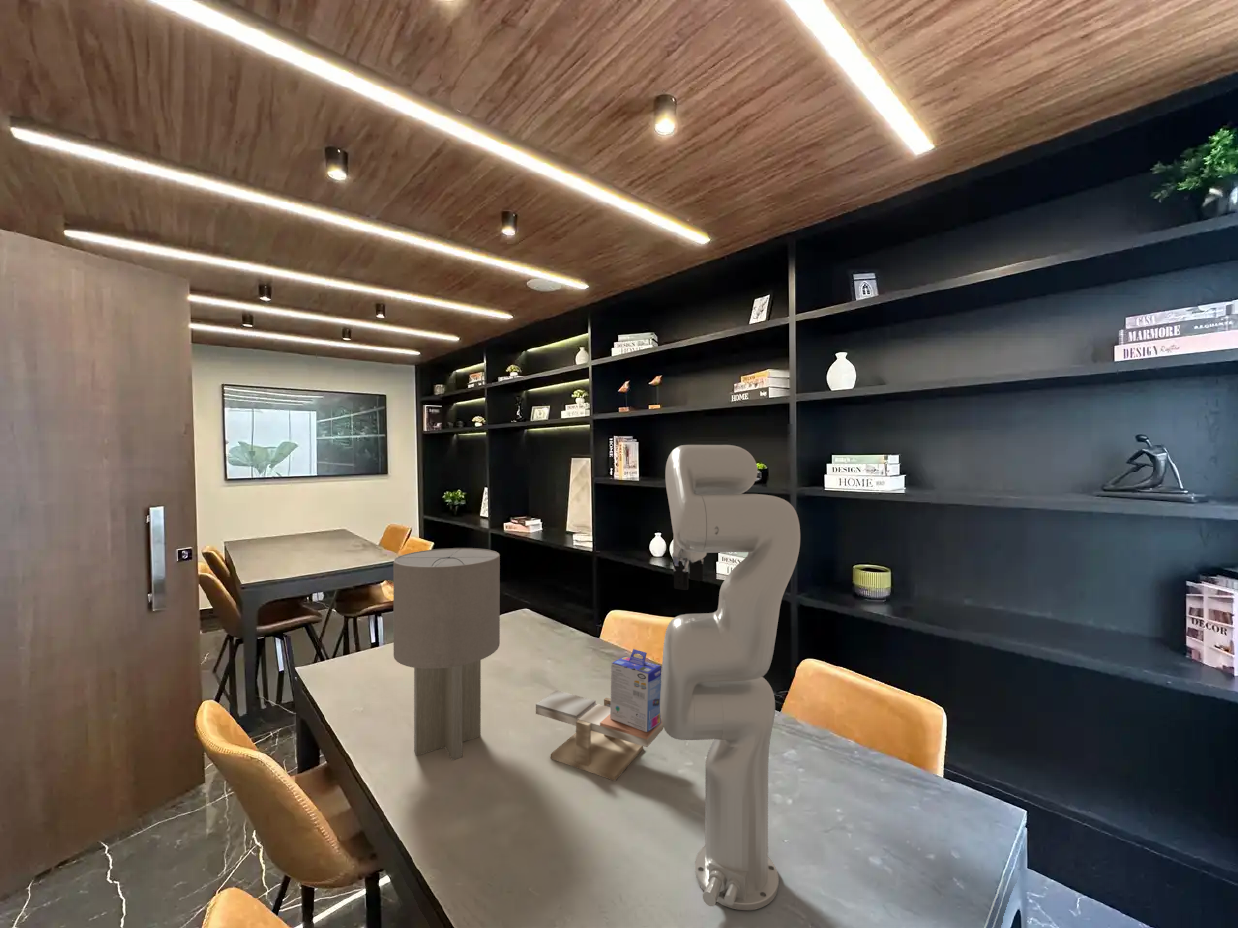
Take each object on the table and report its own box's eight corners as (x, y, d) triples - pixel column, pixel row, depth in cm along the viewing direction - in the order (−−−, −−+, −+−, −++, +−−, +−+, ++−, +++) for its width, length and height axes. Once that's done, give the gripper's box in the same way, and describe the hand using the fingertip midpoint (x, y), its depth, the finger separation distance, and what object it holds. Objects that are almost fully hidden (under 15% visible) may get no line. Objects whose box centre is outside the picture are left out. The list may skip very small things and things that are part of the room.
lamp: (404, 787, 100) (404, 571, 100) (385, 735, 119) (385, 553, 119) (514, 751, 113) (514, 559, 112) (481, 709, 132) (481, 544, 132)
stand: (643, 748, 114) (643, 706, 114) (614, 780, 102) (614, 733, 102) (583, 730, 122) (583, 691, 121) (550, 758, 110) (550, 714, 110)
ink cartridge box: (662, 722, 107) (662, 654, 107) (648, 734, 103) (648, 662, 102) (624, 709, 113) (624, 644, 113) (609, 719, 108) (609, 651, 108)
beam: (665, 726, 110) (665, 716, 110) (645, 749, 101) (645, 738, 101) (558, 697, 123) (558, 688, 123) (532, 715, 114) (532, 705, 114)
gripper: (691, 514, 107) (691, 595, 107) (716, 507, 122) (716, 578, 122) (658, 512, 111) (658, 590, 111) (687, 506, 126) (687, 575, 126)
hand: (689, 584), depth 116 cm, fingers open, 9 cm apart
